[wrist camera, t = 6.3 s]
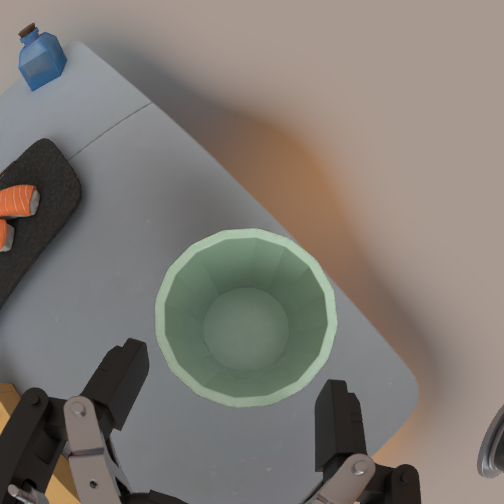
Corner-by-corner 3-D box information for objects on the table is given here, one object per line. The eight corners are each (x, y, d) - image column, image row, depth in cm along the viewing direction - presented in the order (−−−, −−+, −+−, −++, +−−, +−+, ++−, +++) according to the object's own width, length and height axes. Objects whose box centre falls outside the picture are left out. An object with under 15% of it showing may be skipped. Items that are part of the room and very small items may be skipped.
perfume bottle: (66, 59, 32) (46, 13, 21) (60, 75, 30) (35, 25, 19) (40, 74, 31) (18, 31, 20) (32, 91, 29) (5, 45, 18)
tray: (143, 527, 13) (132, 544, 10) (75, 561, 8) (64, 571, 5) (11, 383, 16) (-9, 383, 13) (-24, 450, 12) (-39, 453, 9)
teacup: (311, 323, 19) (369, 303, 10) (250, 393, 18) (255, 441, 8) (241, 265, 21) (238, 197, 11) (180, 332, 19) (121, 319, 9)
